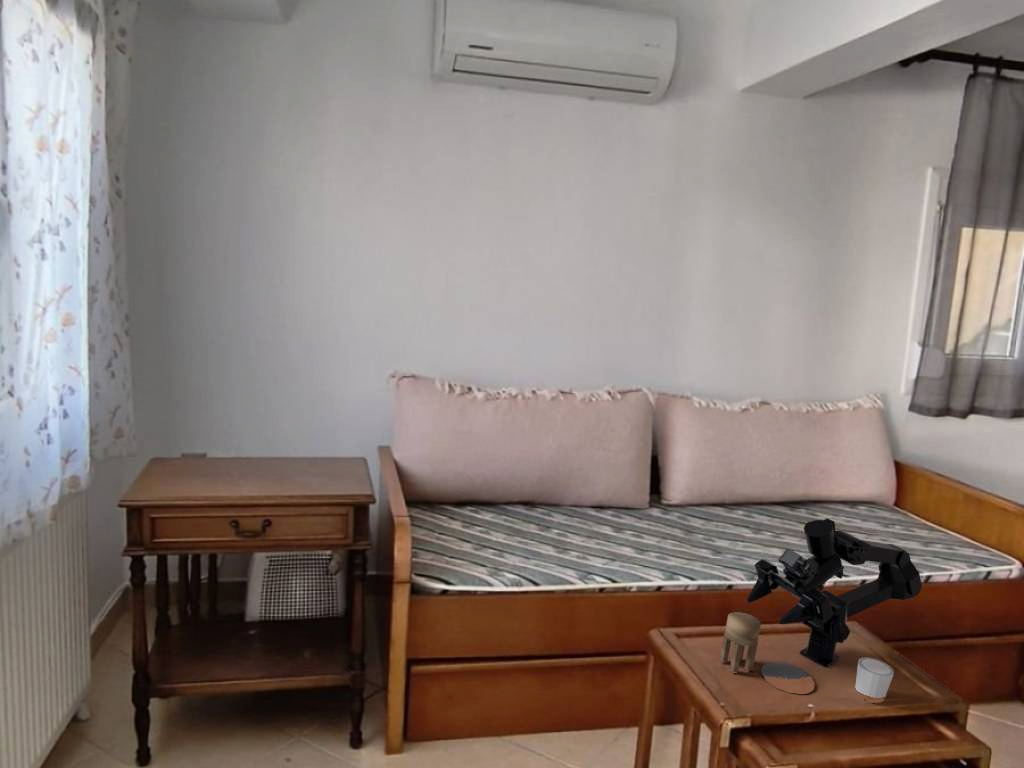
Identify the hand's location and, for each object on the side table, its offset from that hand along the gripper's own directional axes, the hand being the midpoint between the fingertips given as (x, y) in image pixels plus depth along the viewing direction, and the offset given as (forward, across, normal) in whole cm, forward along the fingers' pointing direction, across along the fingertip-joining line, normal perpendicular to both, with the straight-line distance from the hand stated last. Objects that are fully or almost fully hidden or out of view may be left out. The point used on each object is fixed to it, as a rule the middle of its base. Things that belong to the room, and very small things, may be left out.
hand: (763, 611), depth 165 cm
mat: (+1, +4, +16) cm, 16 cm away
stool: (+8, -3, +12) cm, 15 cm away
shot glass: (-10, +14, +22) cm, 28 cm away
